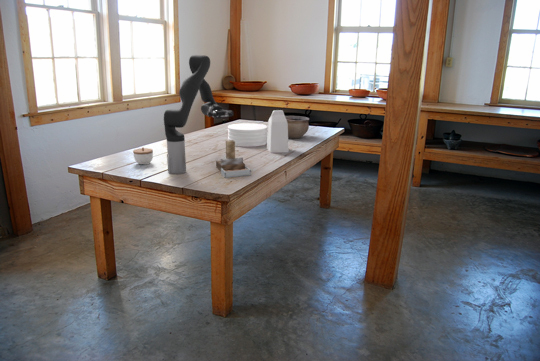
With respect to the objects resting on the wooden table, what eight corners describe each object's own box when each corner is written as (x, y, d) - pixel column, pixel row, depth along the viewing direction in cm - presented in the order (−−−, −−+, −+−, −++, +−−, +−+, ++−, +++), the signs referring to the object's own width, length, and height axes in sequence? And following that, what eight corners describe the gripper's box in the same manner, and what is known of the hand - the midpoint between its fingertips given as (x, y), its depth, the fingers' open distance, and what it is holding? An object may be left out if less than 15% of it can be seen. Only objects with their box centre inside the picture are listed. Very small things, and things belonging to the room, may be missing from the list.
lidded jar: (157, 162, 249) (156, 146, 246) (143, 166, 240) (142, 150, 238) (144, 160, 254) (143, 144, 252) (130, 164, 246) (128, 148, 243)
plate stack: (244, 137, 324) (244, 121, 321) (275, 141, 309) (275, 125, 305) (219, 143, 302) (219, 127, 299) (251, 148, 287) (251, 131, 284)
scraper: (221, 165, 229) (221, 143, 226) (219, 162, 234) (218, 141, 231) (243, 163, 234) (242, 141, 230) (240, 161, 239) (239, 139, 235)
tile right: (239, 169, 228) (239, 172, 229) (241, 171, 225) (242, 174, 226) (246, 168, 229) (246, 172, 230) (248, 170, 226) (248, 174, 227)
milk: (270, 152, 276) (270, 111, 268) (266, 148, 286) (267, 109, 279) (288, 151, 278) (289, 111, 270) (284, 148, 289) (285, 109, 281)
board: (221, 173, 229) (221, 166, 228) (216, 167, 240) (216, 160, 238) (245, 171, 233) (245, 164, 232) (238, 165, 244) (238, 159, 243)
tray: (224, 177, 222) (224, 172, 221) (220, 173, 229) (220, 168, 228) (250, 175, 226) (250, 169, 225) (246, 171, 233) (246, 165, 233)
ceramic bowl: (277, 134, 333) (278, 115, 329) (305, 134, 336) (306, 115, 331) (281, 140, 312) (282, 119, 308) (311, 140, 315) (311, 119, 310)
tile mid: (232, 169, 227) (232, 173, 227) (234, 171, 224) (234, 175, 224) (238, 169, 228) (238, 172, 229) (240, 171, 225) (240, 174, 226)
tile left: (224, 170, 225) (224, 174, 226) (226, 172, 222) (226, 176, 223) (231, 170, 227) (231, 173, 227) (233, 171, 223) (233, 175, 224)
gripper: (204, 105, 250) (210, 109, 235) (227, 104, 255) (235, 108, 240) (204, 118, 252) (211, 122, 238) (228, 117, 257) (235, 121, 243)
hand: (223, 115), depth 239 cm, fingers open, 8 cm apart
